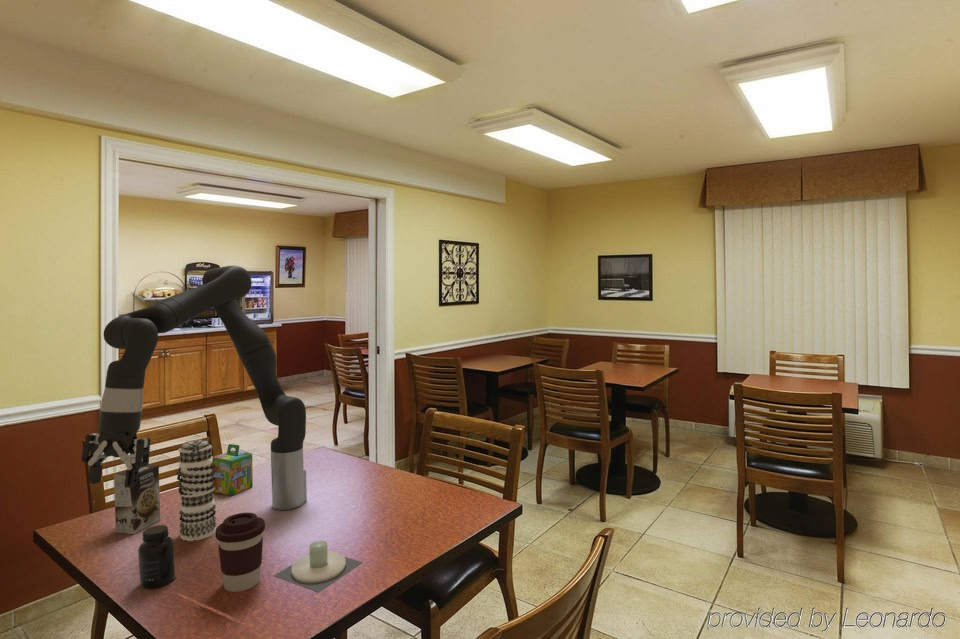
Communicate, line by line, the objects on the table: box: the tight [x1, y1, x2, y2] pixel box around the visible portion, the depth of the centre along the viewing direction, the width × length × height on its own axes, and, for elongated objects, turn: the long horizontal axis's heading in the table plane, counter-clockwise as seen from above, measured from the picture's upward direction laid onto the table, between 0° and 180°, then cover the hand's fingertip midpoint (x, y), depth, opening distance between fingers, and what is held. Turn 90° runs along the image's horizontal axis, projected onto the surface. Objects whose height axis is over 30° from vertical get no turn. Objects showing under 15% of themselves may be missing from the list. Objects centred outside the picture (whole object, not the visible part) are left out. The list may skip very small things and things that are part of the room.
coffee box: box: [113, 464, 161, 535], centre depth 145 cm, size 9×6×16 cm
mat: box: [273, 556, 364, 593], centre depth 121 cm, size 14×14×1 cm
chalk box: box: [212, 443, 254, 497], centre depth 172 cm, size 9×9×15 cm
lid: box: [291, 540, 346, 583], centre depth 121 cm, size 12×12×6 cm
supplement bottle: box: [137, 524, 176, 590], centre depth 117 cm, size 7×7×12 cm
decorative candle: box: [176, 439, 217, 542], centre depth 140 cm, size 9×9×25 cm
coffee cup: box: [214, 512, 266, 593], centre depth 116 cm, size 10×10×15 cm
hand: (112, 485), depth 112 cm, fingers open, 8 cm apart
